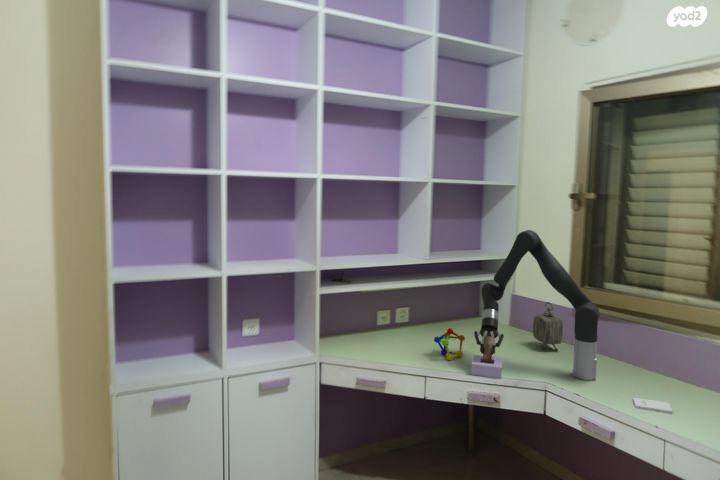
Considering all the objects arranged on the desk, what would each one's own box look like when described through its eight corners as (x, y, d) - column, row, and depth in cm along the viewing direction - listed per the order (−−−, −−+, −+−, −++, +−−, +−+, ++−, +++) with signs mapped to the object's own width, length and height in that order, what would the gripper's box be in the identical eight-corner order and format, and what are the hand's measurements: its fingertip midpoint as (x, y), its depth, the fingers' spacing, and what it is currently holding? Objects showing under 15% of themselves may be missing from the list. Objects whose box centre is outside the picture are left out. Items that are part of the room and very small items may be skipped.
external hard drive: (672, 415, 183) (635, 408, 188) (668, 406, 190) (632, 400, 195) (672, 411, 183) (635, 404, 187) (668, 402, 190) (632, 396, 195)
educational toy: (442, 352, 252) (445, 323, 251) (465, 358, 244) (467, 328, 243) (427, 357, 240) (430, 327, 239) (450, 363, 232) (453, 332, 231)
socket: (501, 368, 227) (502, 358, 227) (501, 378, 215) (501, 367, 214) (473, 364, 231) (474, 354, 231) (471, 374, 219) (471, 364, 218)
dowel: (491, 365, 224) (493, 336, 223) (491, 368, 220) (492, 338, 219) (482, 364, 225) (484, 335, 224) (482, 367, 222) (483, 338, 220)
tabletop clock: (561, 352, 251) (564, 305, 248) (545, 353, 249) (548, 306, 247) (546, 343, 265) (549, 299, 262) (531, 344, 263) (533, 299, 261)
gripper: (474, 315, 230) (471, 347, 220) (505, 318, 225) (503, 351, 215) (475, 323, 235) (471, 355, 225) (505, 326, 231) (503, 359, 221)
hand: (487, 353), depth 220 cm, fingers closed on dowel, 4 cm apart
